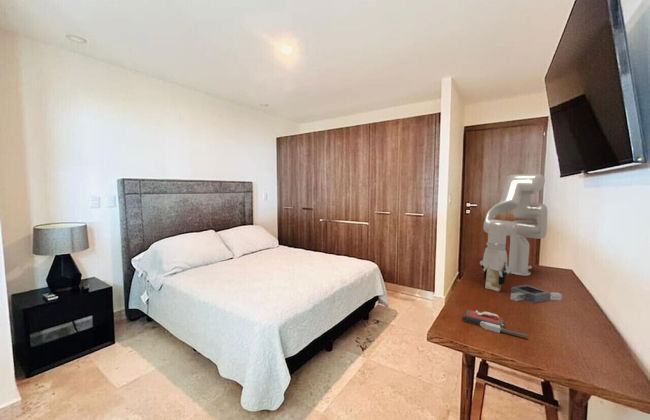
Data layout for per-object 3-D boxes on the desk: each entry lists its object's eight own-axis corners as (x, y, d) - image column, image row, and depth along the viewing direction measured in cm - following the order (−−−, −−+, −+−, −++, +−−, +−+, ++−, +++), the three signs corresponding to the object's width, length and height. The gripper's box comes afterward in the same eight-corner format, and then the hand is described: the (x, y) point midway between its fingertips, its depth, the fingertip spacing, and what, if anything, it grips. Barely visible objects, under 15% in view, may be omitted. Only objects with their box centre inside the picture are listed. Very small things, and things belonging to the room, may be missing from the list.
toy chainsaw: (460, 324, 101) (528, 342, 90) (461, 312, 100) (529, 329, 89) (464, 315, 108) (526, 330, 97) (464, 304, 108) (527, 318, 97)
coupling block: (533, 290, 136) (534, 283, 136) (563, 300, 124) (564, 292, 124) (501, 295, 128) (502, 288, 128) (530, 306, 116) (530, 298, 116)
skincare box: (484, 288, 137) (486, 264, 136) (487, 286, 140) (488, 262, 139) (499, 291, 133) (501, 267, 132) (501, 289, 136) (503, 265, 135)
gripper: (475, 243, 142) (473, 276, 143) (508, 251, 125) (505, 288, 127) (485, 242, 144) (483, 275, 146) (519, 250, 128) (516, 286, 130)
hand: (493, 281), depth 136 cm, fingers closed on skincare box, 7 cm apart
